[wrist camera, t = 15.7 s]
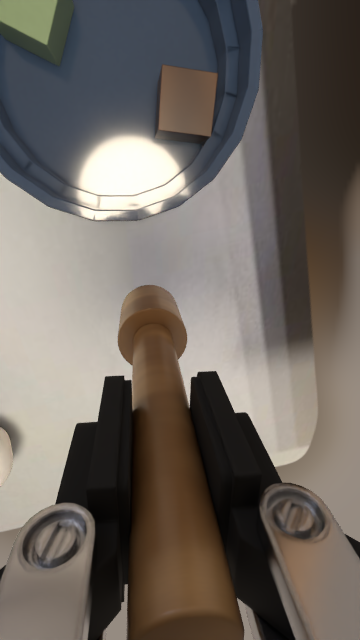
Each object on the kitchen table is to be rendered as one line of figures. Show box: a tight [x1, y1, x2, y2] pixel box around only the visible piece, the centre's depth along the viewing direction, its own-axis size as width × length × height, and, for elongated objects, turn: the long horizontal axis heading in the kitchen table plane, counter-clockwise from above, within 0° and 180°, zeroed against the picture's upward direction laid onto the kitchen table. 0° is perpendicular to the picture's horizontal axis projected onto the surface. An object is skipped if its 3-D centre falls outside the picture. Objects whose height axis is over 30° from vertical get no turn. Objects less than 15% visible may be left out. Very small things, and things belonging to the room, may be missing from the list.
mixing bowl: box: [0, 0, 263, 221], centre depth 23 cm, size 21×21×6 cm
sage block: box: [0, 0, 74, 66], centre depth 22 cm, size 4×4×4 cm
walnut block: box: [155, 64, 218, 144], centre depth 25 cm, size 4×4×4 cm
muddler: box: [118, 285, 244, 640], centre depth 12 cm, size 3×3×15 cm
